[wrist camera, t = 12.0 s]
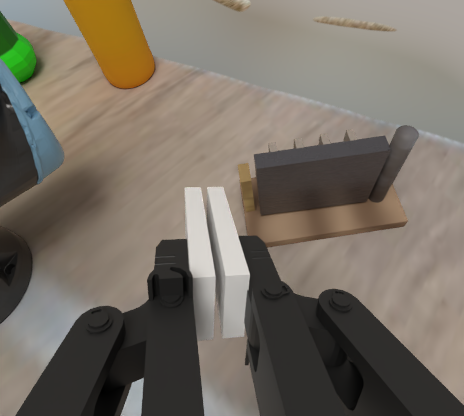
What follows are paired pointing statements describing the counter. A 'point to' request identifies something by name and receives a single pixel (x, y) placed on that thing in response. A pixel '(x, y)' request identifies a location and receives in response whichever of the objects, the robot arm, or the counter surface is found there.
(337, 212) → the grey model on base
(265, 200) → the grey stone panel
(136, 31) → the beer bottle
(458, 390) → the counter surface
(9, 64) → the plastic bottle
